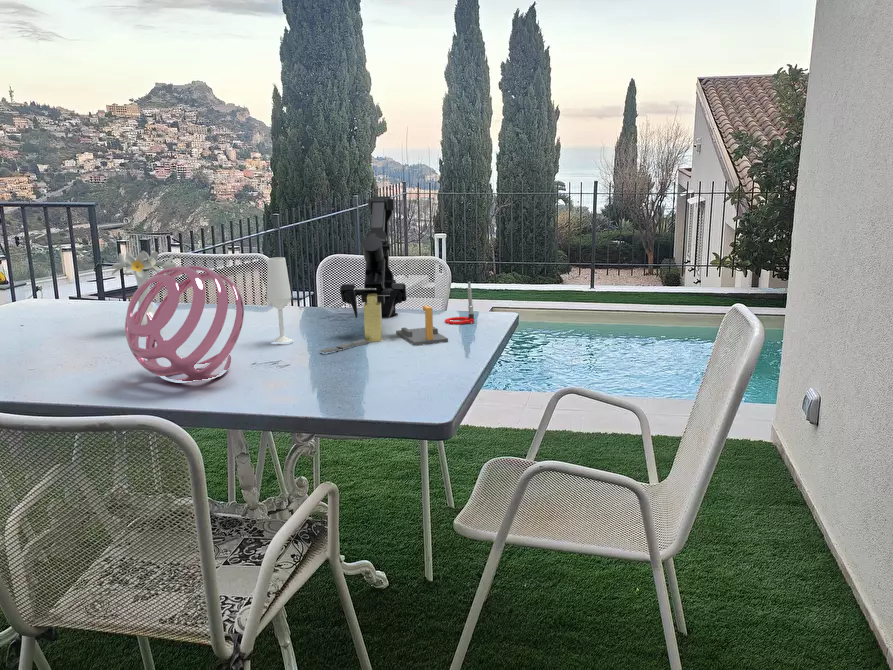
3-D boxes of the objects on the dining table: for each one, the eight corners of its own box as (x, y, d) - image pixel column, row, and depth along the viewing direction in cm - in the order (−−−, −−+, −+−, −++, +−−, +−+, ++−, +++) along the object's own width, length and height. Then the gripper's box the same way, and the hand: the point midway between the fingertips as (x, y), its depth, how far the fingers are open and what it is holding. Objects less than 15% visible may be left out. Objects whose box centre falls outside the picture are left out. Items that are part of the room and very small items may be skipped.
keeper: (396, 333, 212) (395, 300, 210) (427, 330, 216) (427, 297, 214) (414, 345, 198) (413, 310, 196) (448, 341, 202) (447, 306, 199)
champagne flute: (265, 343, 203) (258, 259, 198) (281, 338, 209) (275, 256, 204) (284, 346, 200) (277, 260, 195) (299, 340, 206) (293, 257, 201)
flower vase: (188, 329, 224) (180, 248, 219) (132, 340, 210) (121, 255, 205) (165, 324, 232) (157, 246, 227) (110, 334, 218) (99, 252, 213)
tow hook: (444, 326, 223) (473, 324, 223) (441, 285, 221) (471, 283, 220) (445, 321, 232) (474, 319, 231) (442, 281, 229) (471, 279, 228)
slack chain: (318, 353, 191) (318, 350, 191) (359, 341, 204) (359, 338, 204) (328, 355, 189) (328, 352, 189) (369, 343, 202) (369, 340, 201)
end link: (366, 338, 208) (364, 293, 205) (382, 337, 208) (380, 293, 205) (365, 341, 204) (363, 296, 201) (380, 341, 204) (379, 296, 201)
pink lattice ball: (226, 281, 190) (147, 230, 167) (294, 317, 175) (217, 267, 152) (168, 372, 186) (79, 332, 164) (231, 418, 171) (143, 381, 148)
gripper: (408, 288, 218) (407, 331, 210) (346, 289, 218) (343, 332, 210) (405, 265, 209) (404, 310, 200) (341, 266, 209) (337, 311, 201)
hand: (372, 317), depth 203 cm, fingers open, 9 cm apart
